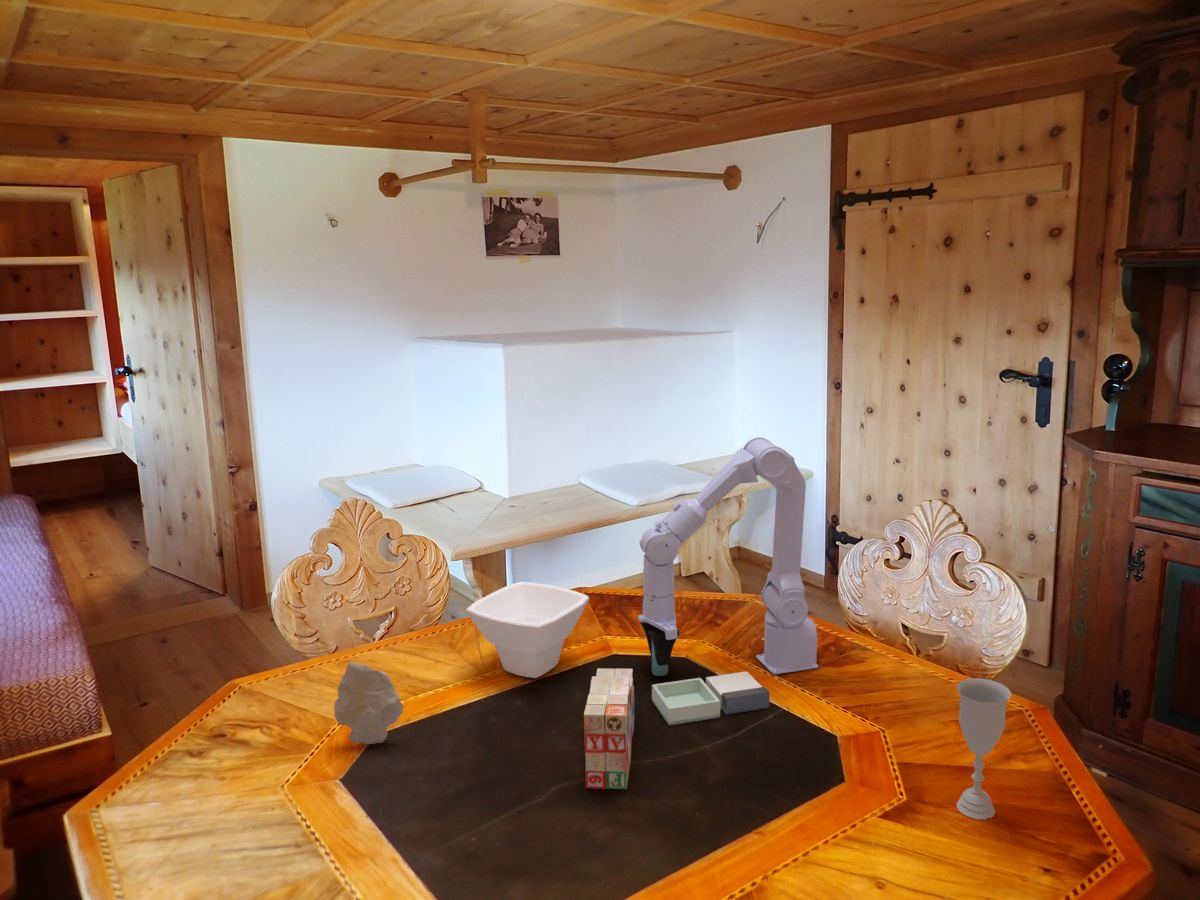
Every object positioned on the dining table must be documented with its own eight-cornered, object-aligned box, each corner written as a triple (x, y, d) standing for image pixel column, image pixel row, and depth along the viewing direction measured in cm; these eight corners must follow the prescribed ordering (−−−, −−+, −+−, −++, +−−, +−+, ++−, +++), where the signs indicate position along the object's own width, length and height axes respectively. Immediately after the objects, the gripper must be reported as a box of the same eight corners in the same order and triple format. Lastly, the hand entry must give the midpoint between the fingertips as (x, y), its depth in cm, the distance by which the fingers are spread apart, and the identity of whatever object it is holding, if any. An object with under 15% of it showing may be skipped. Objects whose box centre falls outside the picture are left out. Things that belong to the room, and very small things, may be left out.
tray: (700, 693, 160) (700, 677, 160) (720, 717, 152) (720, 701, 151) (652, 700, 158) (651, 684, 158) (669, 725, 149) (668, 709, 149)
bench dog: (764, 702, 156) (764, 686, 156) (769, 707, 155) (769, 691, 154) (721, 709, 155) (721, 693, 154) (726, 714, 153) (726, 698, 152)
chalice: (997, 829, 120) (1006, 707, 117) (944, 814, 124) (952, 695, 120) (1005, 802, 126) (1014, 685, 123) (955, 788, 130) (962, 674, 126)
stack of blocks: (598, 717, 153) (596, 650, 150) (635, 718, 152) (633, 651, 150) (585, 789, 132) (583, 713, 130) (627, 790, 131) (626, 714, 129)
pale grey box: (746, 686, 163) (746, 671, 163) (763, 703, 157) (763, 688, 156) (705, 692, 161) (705, 677, 161) (720, 710, 155) (720, 694, 154)
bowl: (599, 661, 174) (597, 594, 171) (540, 703, 158) (537, 629, 155) (523, 642, 184) (520, 578, 181) (460, 679, 168) (456, 609, 165)
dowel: (664, 668, 170) (664, 628, 168) (670, 674, 167) (669, 634, 165) (650, 670, 169) (649, 630, 168) (654, 676, 166) (654, 636, 165)
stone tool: (407, 736, 148) (401, 652, 145) (404, 747, 144) (398, 662, 141) (340, 740, 147) (332, 656, 144) (335, 752, 144) (327, 666, 141)
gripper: (627, 581, 171) (628, 647, 174) (650, 608, 157) (651, 680, 160) (662, 577, 172) (662, 643, 175) (688, 604, 159) (688, 674, 162)
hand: (659, 660), depth 168 cm, fingers closed on dowel, 3 cm apart
